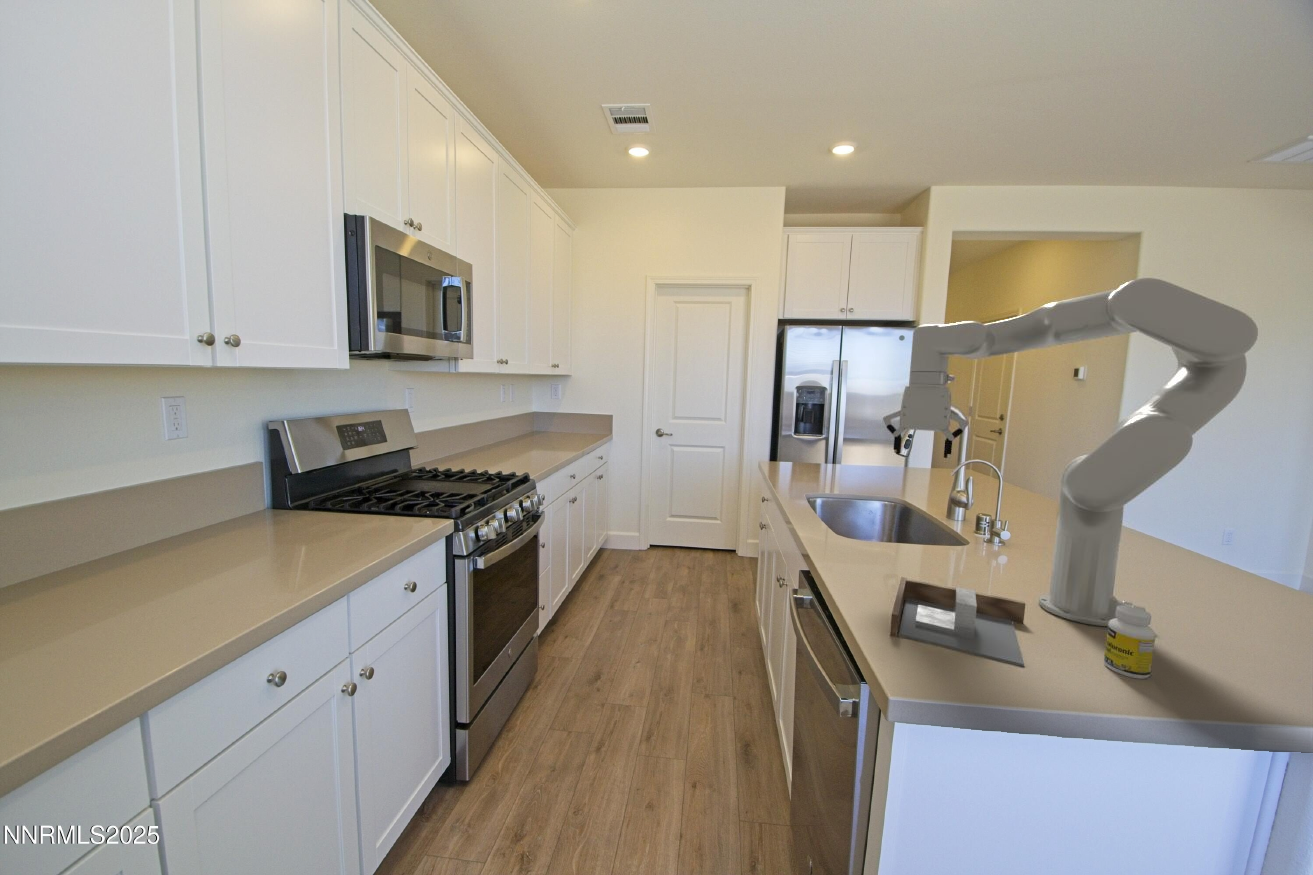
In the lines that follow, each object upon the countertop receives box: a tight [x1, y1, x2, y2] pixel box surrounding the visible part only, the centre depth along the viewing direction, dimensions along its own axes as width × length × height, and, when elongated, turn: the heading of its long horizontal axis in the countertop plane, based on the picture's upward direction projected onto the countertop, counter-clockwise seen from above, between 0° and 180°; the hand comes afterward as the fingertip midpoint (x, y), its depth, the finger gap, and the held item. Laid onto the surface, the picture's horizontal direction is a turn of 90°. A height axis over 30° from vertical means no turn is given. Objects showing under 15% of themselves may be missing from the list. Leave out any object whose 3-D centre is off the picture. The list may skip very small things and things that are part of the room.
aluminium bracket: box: [915, 586, 977, 639], centre depth 93 cm, size 8×9×6 cm
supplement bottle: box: [1103, 606, 1156, 680], centre depth 79 cm, size 5×5×10 cm
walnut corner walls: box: [889, 576, 1026, 638], centre depth 92 cm, size 21×21×4 cm
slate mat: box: [898, 598, 1025, 667], centre depth 92 cm, size 18×18×1 cm
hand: (921, 455), depth 116 cm, fingers open, 9 cm apart
